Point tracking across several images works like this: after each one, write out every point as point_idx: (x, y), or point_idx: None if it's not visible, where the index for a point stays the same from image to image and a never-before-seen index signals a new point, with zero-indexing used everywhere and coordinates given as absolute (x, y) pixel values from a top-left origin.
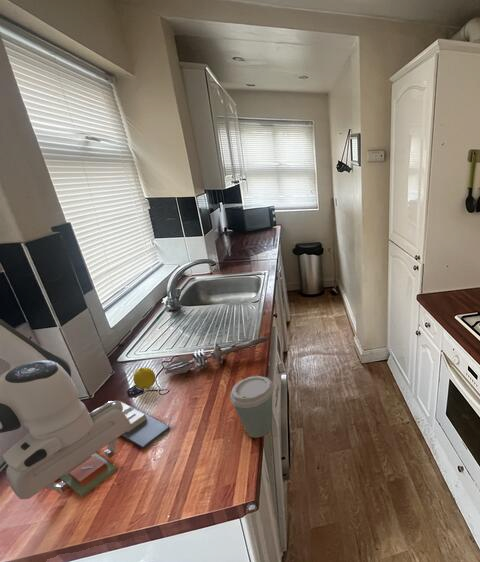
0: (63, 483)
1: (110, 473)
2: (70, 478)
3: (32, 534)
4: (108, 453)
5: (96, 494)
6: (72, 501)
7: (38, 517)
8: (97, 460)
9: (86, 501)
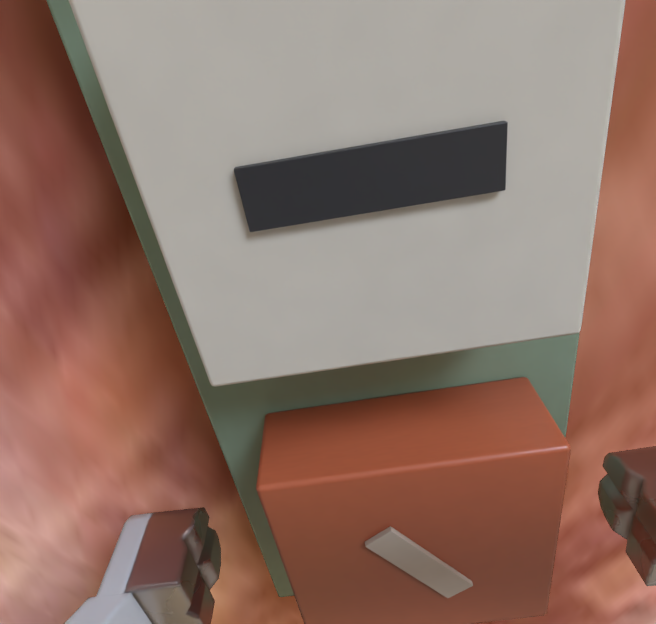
0: (188, 621)
1: None
2: (253, 405)
3: (5, 588)
4: (654, 584)
5: None
6: (225, 547)
7: (16, 509)
8: (532, 549)
9: (293, 598)
